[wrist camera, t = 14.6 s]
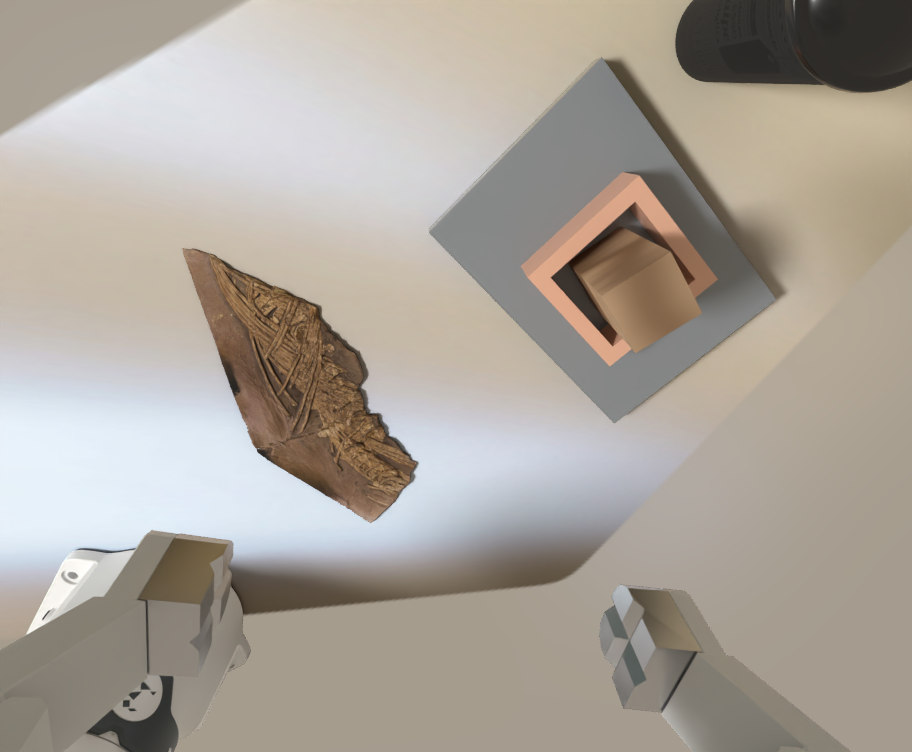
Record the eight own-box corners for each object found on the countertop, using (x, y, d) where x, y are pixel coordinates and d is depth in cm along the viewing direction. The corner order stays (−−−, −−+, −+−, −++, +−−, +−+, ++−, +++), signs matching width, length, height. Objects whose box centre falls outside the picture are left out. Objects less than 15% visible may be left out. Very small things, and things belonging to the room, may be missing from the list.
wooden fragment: (435, 496, 45) (435, 504, 44) (322, 537, 46) (319, 545, 45) (276, 207, 34) (272, 209, 33) (138, 272, 36) (129, 276, 35)
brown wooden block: (596, 309, 36) (635, 353, 29) (567, 262, 35) (601, 295, 27) (648, 276, 35) (702, 313, 28) (621, 226, 34) (671, 251, 27)
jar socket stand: (608, 413, 41) (626, 444, 37) (429, 228, 35) (427, 240, 31) (764, 293, 38) (803, 312, 33) (594, 60, 31) (618, 49, 27)
